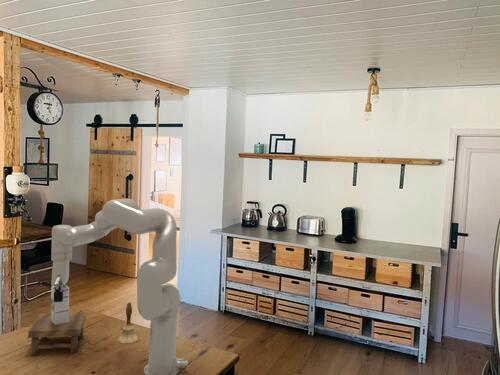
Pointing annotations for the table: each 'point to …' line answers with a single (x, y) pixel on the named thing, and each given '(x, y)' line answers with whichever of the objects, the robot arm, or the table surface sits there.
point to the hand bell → (128, 329)
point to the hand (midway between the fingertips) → (60, 297)
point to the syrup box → (60, 307)
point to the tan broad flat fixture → (56, 332)
